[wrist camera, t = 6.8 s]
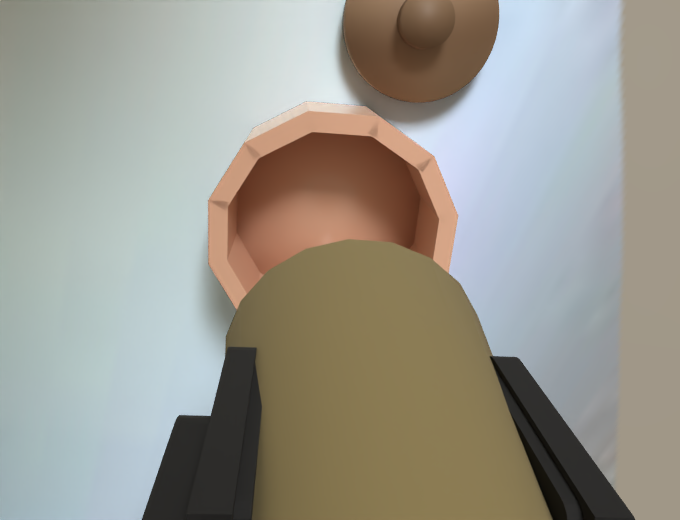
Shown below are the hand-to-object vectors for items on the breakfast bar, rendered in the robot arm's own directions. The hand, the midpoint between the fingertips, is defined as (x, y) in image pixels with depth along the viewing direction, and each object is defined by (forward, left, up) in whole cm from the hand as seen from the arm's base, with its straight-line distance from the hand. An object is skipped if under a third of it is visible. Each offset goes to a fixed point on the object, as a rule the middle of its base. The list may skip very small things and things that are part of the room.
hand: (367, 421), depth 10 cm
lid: (-8, +3, -15) cm, 17 cm away
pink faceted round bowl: (0, 0, -15) cm, 15 cm away
